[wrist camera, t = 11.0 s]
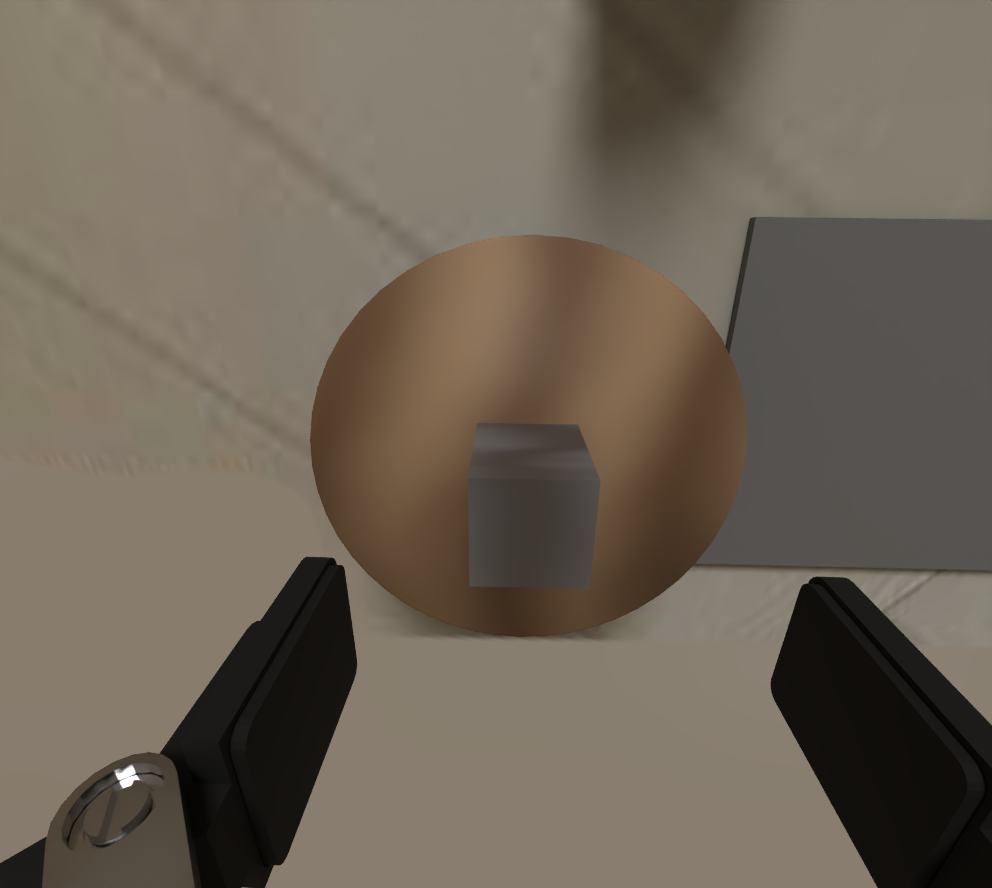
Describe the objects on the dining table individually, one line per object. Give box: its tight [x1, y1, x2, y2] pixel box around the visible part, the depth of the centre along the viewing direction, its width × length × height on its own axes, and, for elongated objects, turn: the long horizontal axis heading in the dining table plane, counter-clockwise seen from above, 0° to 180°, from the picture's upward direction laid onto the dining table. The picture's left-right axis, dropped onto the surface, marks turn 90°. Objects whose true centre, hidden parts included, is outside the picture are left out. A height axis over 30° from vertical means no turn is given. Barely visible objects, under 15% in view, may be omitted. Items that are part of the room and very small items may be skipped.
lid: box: [310, 235, 747, 637], centre depth 16 cm, size 16×16×6 cm
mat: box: [695, 217, 992, 570], centre depth 24 cm, size 18×18×1 cm
